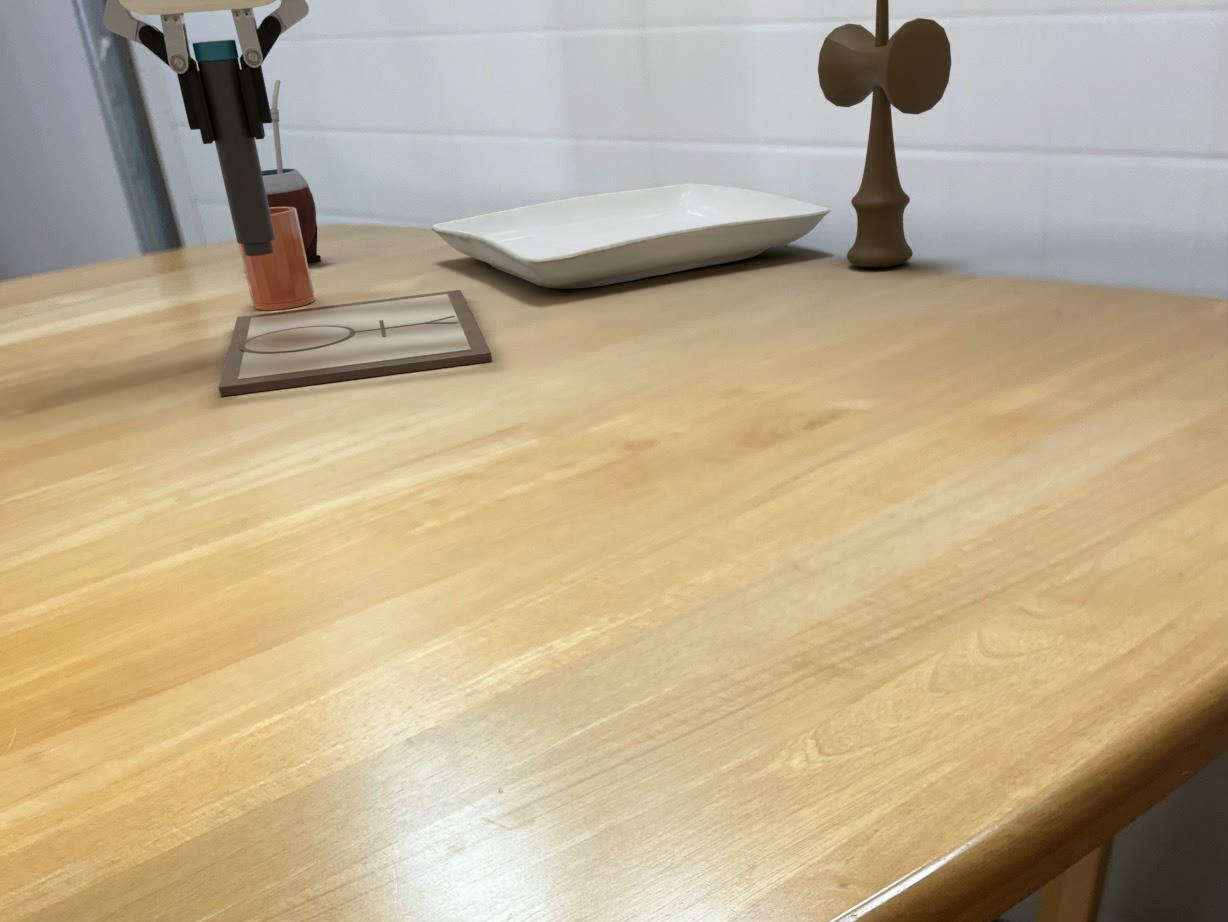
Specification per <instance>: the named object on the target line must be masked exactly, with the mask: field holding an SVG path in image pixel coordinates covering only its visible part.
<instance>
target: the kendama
mask: <svg viewBox="0 0 1228 922" xmlns="http://www.w3.org/2000/svg"><path fill="white" fill-rule="evenodd" d="M875 1H876V2H875V3H876V6H875V30H874V31H875V35H874V34H873V32H870V31H869V30H868V29H867V28H866V27H864V26H863V25H862V24H856V23H845V24H843V25H840V26H837V27H835V28H834V29H833V30H832V31H831V32H830V33H829V34H828V35H827V36H826V37H825V38H824V40H823V42H822V46H821V47H820V50H819V55H818V63H817V76H818V82H819V83H818V84H819V87H820V89H821V91H822V94H823V96H824V98H825V100H827V101H828V102H829V103H831V104H832V105H834V106H835V107H837V108H839V107H840V108H851V107H853V106H856V105H859V104H861V103H862V102H864V101H865V100H866V99H867V98H868V97H869V96H870V95H871V94H872V98H871V109H870V121H869V129H868V138H867V146H866V147H867V148H866V153H865V159H864V161H865V162H864V168H863V173H862V178H861V182H860V185H859V188H858V190H857V193H856V194H855V195H854V196H852V198H851V201H850V204H851V205H852V207H853V208H854V210H855V213H856V218H857V224H856V225H857V226H856V237H855V239H854V240H855V242H854V243H853V245H852V246H851V248H850V249H849V250H848V251H847V253H846V259H847V261H848V262H849V263H850V264H852V265H854V266H858V267H861V268H887V267H888V268H889V267H894V266H897V265H900V264H904V263H906V262H907V261H909V260H910V259H911V258H913V256H914V255H913V254H914V252H913V249H912V248H911V246H910V245H909V244H908V242H907V240H906V236H905V229H904V214H905V210H906V207H907V206H908V205H909V203H910V202H911V201H910V200H911V197H910V195H908V194H907V193H906V192H905V190H904V189H903V187H902V184H901V180H900V177H899V171H898V165H897V155H896V149H895V140H894V129H893V117H892V107H894V108H895V109H897V110H898V111H899V112H900V113H902V114H905V115H921V114H923V113H926V112H928V111H930V110H932V109H933V108H934V107H935V106H937V104H938V103H939V102H940V101H941V100H942V99H943V97H944V95H945V92H946V89H947V87H948V84H949V81H950V76H951V68H952V52H951V43H950V40H949V37H948V35H947V33H946V30H945V28H944V27H943V26H942V25H941V24H939V23H938V22H937V21H936V20H935V19H930V18H923V17H917V18H914V19H911V20H909V21H906V22H904V23H903V24H902V25H901V26H900V27H899V28H898V29H897V30H895V32H894V33H893V34H892V35H891V36H890V20H889V19H890V16H889V14H890V13H889V10H890V9H889V7H890V5H889V4H890V3H889V0H875Z"/></svg>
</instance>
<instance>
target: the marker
mask: <svg viewBox="0 0 1228 922" xmlns="http://www.w3.org/2000/svg"><path fill="white" fill-rule="evenodd" d="M191 45H192V49H193V54H194V58H195V61H196V64H197V68H198V71H199V73H200V75H201V79H202V84H203V88H204V93H205V97H206V102H207V106H208V111H209V115H210V120H211V124H212V129H213V133H214V138H215V141H214V144H215V149H216V153H217V157H218V162H219V167H220V171H221V175H222V181H223V185H224V188H225V193H226V198H227V202H228V207H229V211H230V215H231V220H232V225H233V229H234V234H235V238H236V242H237V244H238V243H239V244H242V245H243V250H244V254H245V255H246V256H260V255H267V254H271V253H273V252H274V250H273V245H272V240H275V233H274V229H273V224H272V219H271V214H270V209H269V205H268V200H267V195H266V190H265V185H264V181H263V176H262V171H263V170H262V166H261V161H260V157H259V152H258V148H257V143H256V139H255V137H254V138H252V135H251V130H250V126H249V121H248V116H247V111H246V107H245V102H244V97H243V92H242V88H241V83H240V78H239V73H238V71H240V70H241V64H240V59H239V58H240V57H239V52H238V47H237V43H236V39H225V40H224V39H223V40H222V39H221V40H210V41H198V42H192V44H191Z"/></svg>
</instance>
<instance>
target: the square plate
mask: <svg viewBox="0 0 1228 922" xmlns="http://www.w3.org/2000/svg"><path fill="white" fill-rule="evenodd" d="M831 211H832V210H831V209H830V208H829V207H826V206H823V205H818V204H814V203H810V202H806V201H802V200H798V199H795V198H791V197H787V196H783V195H779V194H775V193H770V192H765V191H760V190H755V189H751V188H744V187H737V186H735V187H734V186H728V185H718V184H717V185H715V184H705V183H697V182H696V183H695V182H694V183H693V182H689V183H681V184H674V185H666V186H658V187H650V188H641V189H640V188H639V189H631V190H624V191H616V192H615V191H614V192H605V193H598V194H591V195H583V196H578V197H572V198H571V197H570V198H565V199H564V198H563V199H558V200H552V201H547V202H541V203H535V204H530V205H529V204H528V205H526V206H525V205H524V206H521V207H520V206H519V207H514V208H509V209H504V210H500V211H494V212H489V213H485V214H480V215H474V216H471V217H464V218H460V219H455V220H449V221H444V222H438V223H435V224H433V225H431V231H433V232H434V233H435V234H437V235H438V236H439V237H440V238H441V239H442V240H443V241H444V242H445V243H446V244H447V245H449V246H450V247H452V248H453V249H454V250H456V251H457V252H459V253H460V254H463V255H465V256H468V257H470V258H473V259H476V260H479V261H481V262H484V263H486V264H488V265H489V266H491V267H492V268H494V269H497V270H499V271H501V272H504V273H506V274H509V275H512V276H515V277H517V278H520V279H522V280H524V281H527V282H529V283H531V284H534V285H537V286H539V287H542V288H548V289H560V290H569V289H572V290H573V289H588V288H595V287H602V286H603V287H604V286H609V285H614V284H619V283H624V282H630V281H631V282H632V281H635V280H641V279H644V278H649V277H656V276H660V275H661V276H662V275H666V274H671V273H672V274H673V273H677V272H682V271H688V270H692V269H698V268H704V267H710V266H715V265H721V264H726V263H733V262H738V261H741V260H746V259H749V258H753V257H756V256H759V255H760V254H762V253H764V252H765V251H766V250H767V249H771V248H777V247H782V246H784V245H787V244H790V243H794V242H795V241H797V240H799V239H801V238H803V237H805V236H806V235H808V234H809V233H810V232H812V231H813V230H814V229H815V228H816V226H818V224H819V223H820V222H821V221H822V220H823V219H824V217H825V216H827V215H828V214H829V213H830V212H831Z"/></svg>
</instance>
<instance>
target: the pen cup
mask: <svg viewBox="0 0 1228 922" xmlns="http://www.w3.org/2000/svg"><path fill="white" fill-rule="evenodd" d="M269 209H270V214H271V219H272V224H273V229H274V233H275V240H272V245H273V250H274V252H273V253H271V254H267V255H260V256H246V255H245V254H244V250H243V245H242V244H239V243H238V242H237V244H238V249H239V253H240V257H241V261H242V265H243V270H244V274H245V278H246V282H247V287H248V291H249V294H250V299H251V302H252V305H253V308H254V309H256V310H260V311H279V310H280V311H281V310H286V309H287V310H288V309H293V308H298V307H303V306H307V305H309V304H311V303H313V302H314V301H316V299H315V294H314V293H315V292H314V286H313V282H312V278H311V277H312V276H311V274H310V268H309V263H307V258H306V253H305V249H304V244H303V239H302V234H301V230H300V225H299V220H298V216H297V211H296V208H294V207H271V208H269Z"/></svg>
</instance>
